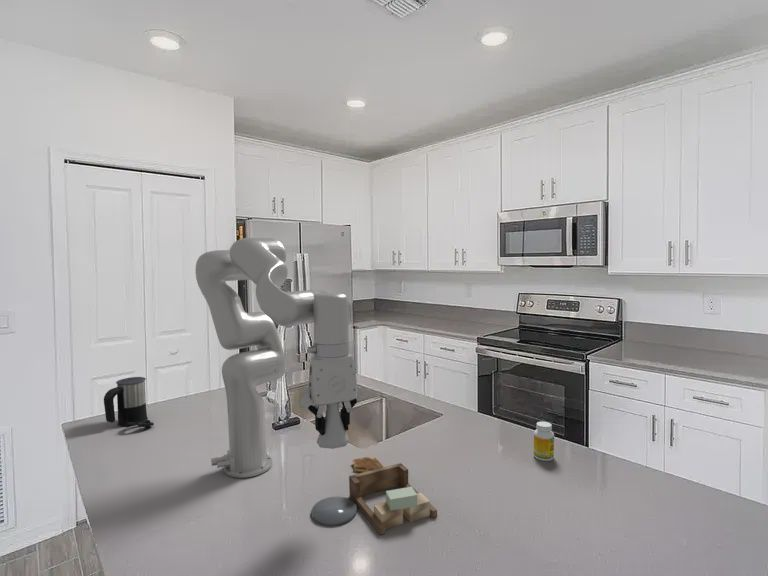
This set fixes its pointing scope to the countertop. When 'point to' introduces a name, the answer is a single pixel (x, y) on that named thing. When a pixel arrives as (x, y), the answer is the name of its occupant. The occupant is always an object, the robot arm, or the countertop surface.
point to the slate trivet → (334, 511)
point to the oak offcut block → (388, 515)
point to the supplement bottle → (544, 441)
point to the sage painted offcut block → (401, 498)
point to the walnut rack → (379, 489)
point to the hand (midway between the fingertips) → (332, 429)
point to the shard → (366, 464)
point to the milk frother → (128, 403)
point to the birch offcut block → (418, 509)
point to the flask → (333, 429)
